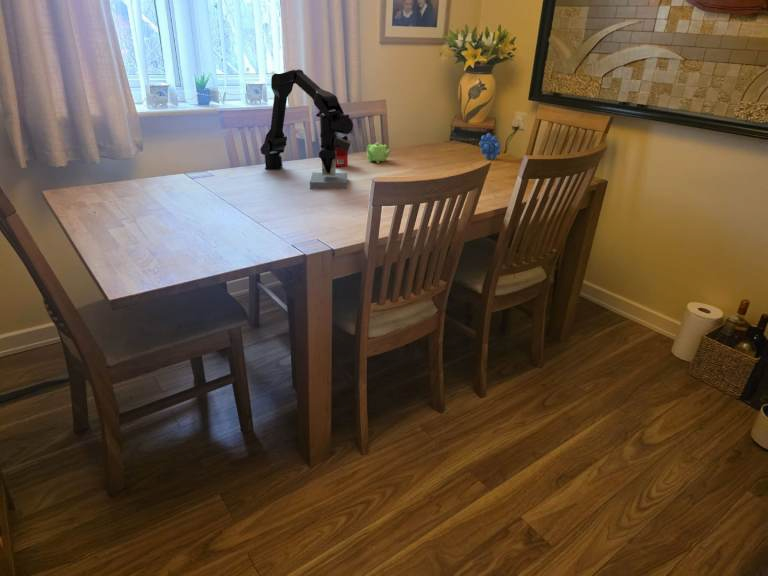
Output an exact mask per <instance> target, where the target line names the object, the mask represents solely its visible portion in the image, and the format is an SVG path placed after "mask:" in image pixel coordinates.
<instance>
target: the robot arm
mask: <svg viewBox="0 0 768 576" xmlns="http://www.w3.org/2000/svg"><path fill="white" fill-rule="evenodd" d="M270 80H271V82H270V87H271V90H272V93H273V104H272V115H271V121H270V123H271V124H270V129H269V131H268V132H267V133H266V135H265V139H264V143H263V144H262V146H260V149H259V150H260V154H262V155H264V162H265V167H264V169H265V170H281V169H282V167H283V165H284V164H283V156H282V155H281V154H283V153H285V148H286V146H287V140H288V137H287V136H286V135H285V133H284V123H285V118H286V117H285V116H286V108H287V103H288V102H287V100H288V97H289V95H291V93H292V91H293V87H294V85H295V84H296V85H297V86H298V87H299V88H300V89H301V90H303V92H305V93H306V94H307V95H308V96H309V97H310V98H311V99H312V100H313V104H314V106H315V107H316V108H317V110H318V112H317V113H316V114H315V117H317V118H319V123H320V124H319V126H320V127H319V128H320V134H319V136H320V150H319V151H318V158H319V159H320V160H321V163H322V162H323V165H324V167H325V169H326V171H327V173H330V170H331V164H332V160H333V159H334V158H336V152H337V150H335V149H334V148H336V149H337V147H338V148H341V149H344V150H345V151H348V152H349V150H350V147H351V144H352V143H351V142H352V141H351V140H349V137H348V135H349V134H351V132H352V131H353V127H354V123H353V121H352V119H351V118H350V115H349V114H347V113H346V114H345V113H344V109H343V108H342V106H341V104H340V102H339V101H338V97H337V96H336V95H335V94H333V93H332V92H330V91H327V90H324V89H322V88H321V87H320V86H319V85H318V84H317V83H316V82H314V81H313V80H312V79H311V78H310V77H309V76H308V75H306V73H304V71H303V70H302V69H298V68H297V69H295V68H294V69H291V70H288V71H285V72H275V73H274V74H272V76H271V78H270ZM337 133H338V134H344V135H343V136H342V137H341V136H338V134H337Z"/></svg>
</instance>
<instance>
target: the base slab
mask: <svg viewBox="0 0 768 576" xmlns="http://www.w3.org/2000/svg"><path fill="white" fill-rule="evenodd" d="M347 187H348V172H336V173H335V176H331V175H322V172H312V174H311V177H310V180H309V189H310V190H311V189H313V190H321V189H322V190H347Z"/></svg>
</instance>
